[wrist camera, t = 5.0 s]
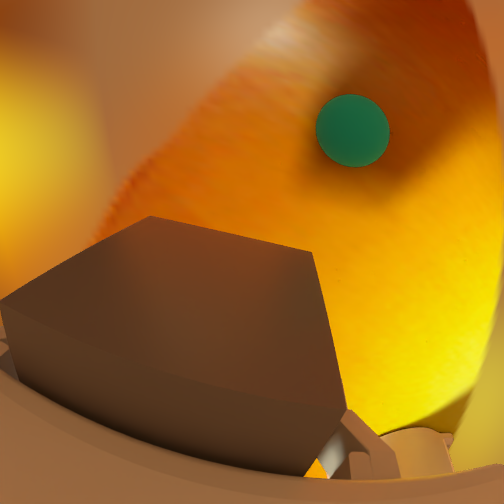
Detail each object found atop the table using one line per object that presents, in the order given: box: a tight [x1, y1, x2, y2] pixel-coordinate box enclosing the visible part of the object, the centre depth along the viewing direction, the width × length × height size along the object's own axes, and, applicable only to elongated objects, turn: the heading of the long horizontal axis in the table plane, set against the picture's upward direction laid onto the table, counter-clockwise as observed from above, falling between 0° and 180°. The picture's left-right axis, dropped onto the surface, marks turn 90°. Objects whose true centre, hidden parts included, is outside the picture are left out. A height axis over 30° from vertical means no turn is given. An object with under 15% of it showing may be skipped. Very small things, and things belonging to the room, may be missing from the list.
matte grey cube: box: [0, 216, 347, 477], centre depth 10 cm, size 7×7×9 cm
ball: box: [316, 94, 390, 167], centre depth 19 cm, size 5×5×5 cm
